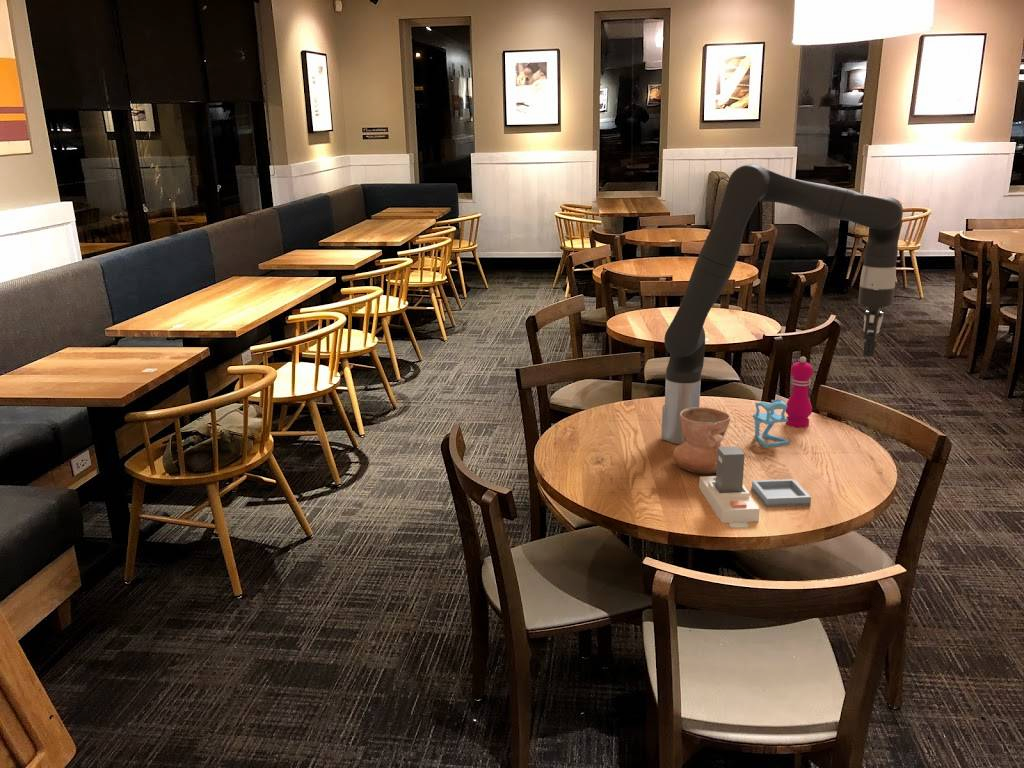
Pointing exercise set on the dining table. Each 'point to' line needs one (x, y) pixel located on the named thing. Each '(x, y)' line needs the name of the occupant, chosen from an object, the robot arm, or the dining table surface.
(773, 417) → the chair
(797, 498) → the tray
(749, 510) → the white rectangular base
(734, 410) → the dining table surface
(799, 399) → the pepper mill
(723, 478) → the block
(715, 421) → the ceramic jug
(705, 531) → the dining table surface
